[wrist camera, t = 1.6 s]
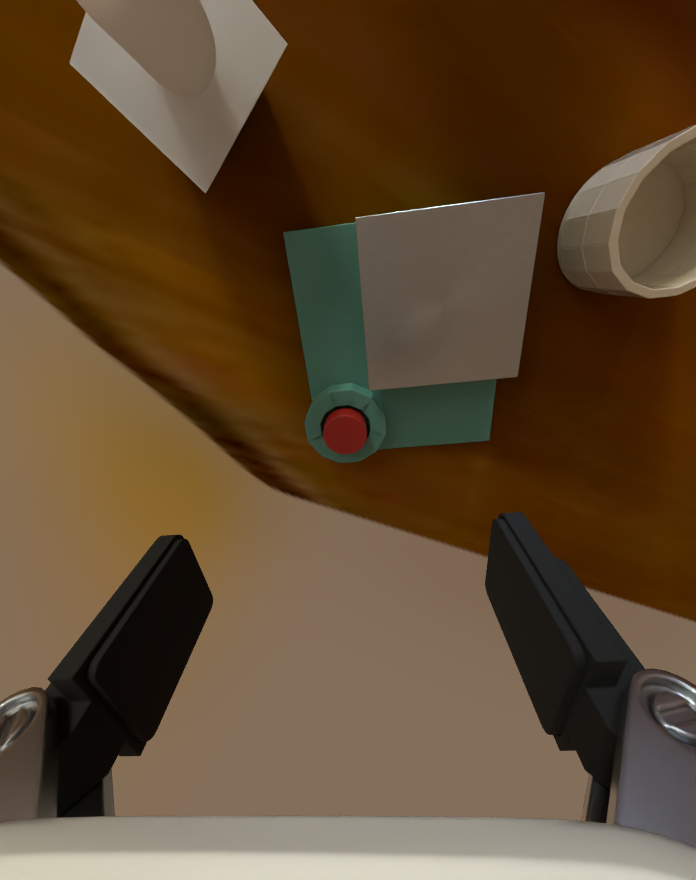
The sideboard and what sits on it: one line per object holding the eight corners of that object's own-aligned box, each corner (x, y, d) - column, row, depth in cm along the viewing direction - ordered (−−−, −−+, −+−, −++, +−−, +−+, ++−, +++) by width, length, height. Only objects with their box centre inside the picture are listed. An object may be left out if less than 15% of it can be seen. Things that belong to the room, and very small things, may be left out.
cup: (570, 162, 19) (635, 130, 14) (703, 144, 18) (814, 104, 14) (546, 297, 22) (593, 304, 18) (658, 285, 22) (735, 289, 17)
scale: (278, 235, 21) (267, 230, 18) (507, 204, 20) (531, 195, 17) (316, 447, 28) (312, 465, 26) (483, 433, 27) (497, 451, 25)
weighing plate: (355, 225, 20) (355, 217, 17) (516, 203, 20) (545, 191, 17) (367, 376, 25) (369, 391, 22) (497, 363, 24) (517, 377, 21)
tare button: (322, 409, 24) (319, 417, 22) (364, 405, 24) (365, 413, 22) (327, 446, 25) (326, 456, 24) (368, 443, 25) (368, 453, 24)
